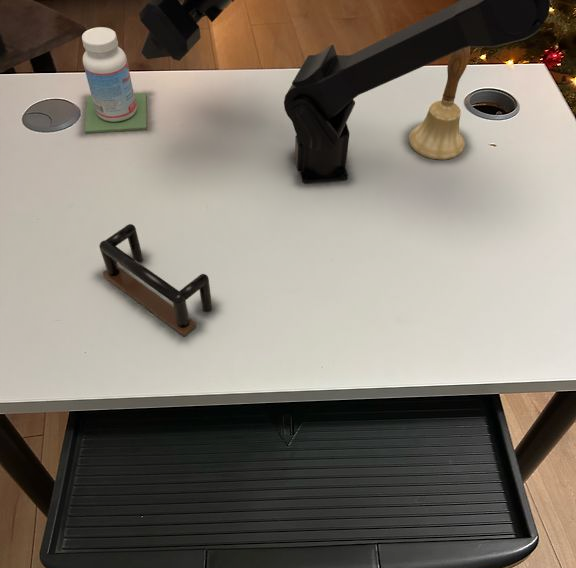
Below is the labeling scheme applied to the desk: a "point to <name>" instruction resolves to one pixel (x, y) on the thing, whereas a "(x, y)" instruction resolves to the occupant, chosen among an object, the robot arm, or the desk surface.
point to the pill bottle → (108, 75)
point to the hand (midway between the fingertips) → (161, 37)
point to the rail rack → (151, 282)
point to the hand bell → (443, 117)
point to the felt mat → (133, 123)
